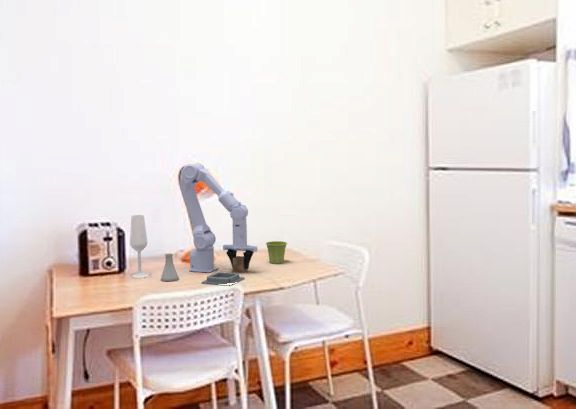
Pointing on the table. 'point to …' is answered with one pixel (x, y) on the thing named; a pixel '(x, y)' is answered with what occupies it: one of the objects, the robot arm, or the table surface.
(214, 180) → the robot arm
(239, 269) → the block
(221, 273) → the holder
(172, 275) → the flask
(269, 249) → the plant pot
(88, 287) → the table surface
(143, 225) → the champagne flute
